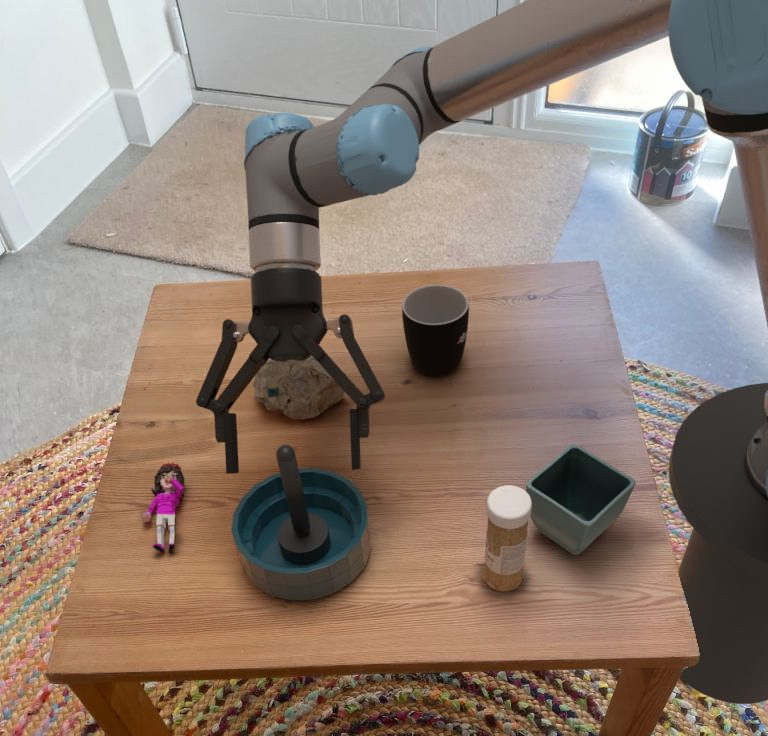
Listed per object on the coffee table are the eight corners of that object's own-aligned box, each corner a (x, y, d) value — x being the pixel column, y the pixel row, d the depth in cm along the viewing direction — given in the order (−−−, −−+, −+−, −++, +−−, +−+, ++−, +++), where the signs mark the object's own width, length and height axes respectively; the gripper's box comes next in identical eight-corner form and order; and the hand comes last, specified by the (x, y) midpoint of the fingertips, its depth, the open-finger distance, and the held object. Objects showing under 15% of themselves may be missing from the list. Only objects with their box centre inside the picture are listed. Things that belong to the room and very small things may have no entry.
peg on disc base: (339, 534, 100) (323, 436, 87) (315, 571, 97) (294, 476, 84) (296, 518, 102) (274, 421, 89) (270, 554, 99) (244, 458, 86)
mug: (465, 385, 117) (466, 326, 109) (401, 382, 118) (397, 323, 110) (471, 330, 124) (473, 271, 116) (411, 328, 125) (408, 269, 118)
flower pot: (625, 531, 99) (638, 480, 92) (579, 576, 95) (589, 526, 88) (565, 493, 103) (573, 441, 96) (518, 534, 99) (523, 484, 92)
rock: (240, 414, 114) (253, 355, 107) (256, 387, 118) (269, 329, 111) (325, 445, 114) (343, 389, 107) (337, 417, 119) (355, 361, 112)
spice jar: (478, 564, 97) (482, 487, 87) (517, 557, 97) (525, 479, 87) (488, 596, 94) (493, 521, 84) (528, 589, 94) (537, 513, 84)
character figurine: (191, 554, 102) (193, 474, 108) (179, 532, 97) (181, 450, 104) (144, 560, 102) (149, 480, 108) (130, 539, 97) (136, 456, 104)
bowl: (388, 580, 96) (385, 548, 92) (258, 621, 94) (248, 590, 89) (349, 486, 106) (344, 453, 101) (230, 521, 103) (219, 489, 99)
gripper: (403, 273, 93) (409, 466, 95) (181, 284, 94) (191, 473, 96) (401, 259, 85) (407, 469, 87) (159, 270, 87) (171, 476, 89)
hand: (294, 471), depth 92 cm, fingers open, 13 cm apart
